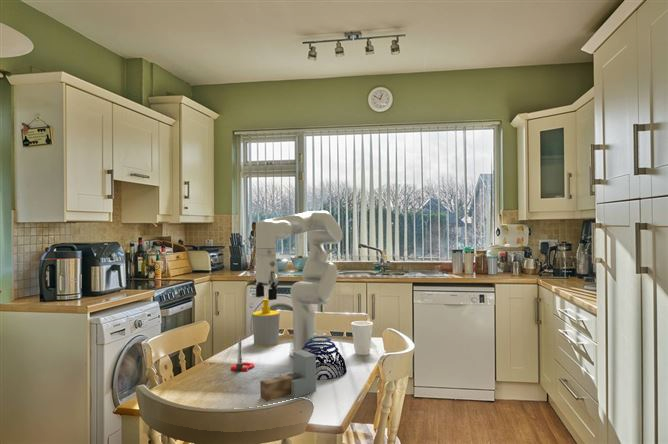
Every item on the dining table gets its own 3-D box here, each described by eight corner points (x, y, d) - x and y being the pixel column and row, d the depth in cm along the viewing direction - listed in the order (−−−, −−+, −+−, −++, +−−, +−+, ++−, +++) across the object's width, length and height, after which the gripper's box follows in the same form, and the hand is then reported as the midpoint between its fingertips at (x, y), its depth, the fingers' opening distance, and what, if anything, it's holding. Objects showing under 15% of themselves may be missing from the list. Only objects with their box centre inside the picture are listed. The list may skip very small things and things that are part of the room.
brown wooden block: (292, 389, 153) (292, 372, 153) (299, 392, 150) (299, 375, 150) (260, 397, 145) (260, 380, 146) (266, 401, 142) (266, 383, 142)
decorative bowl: (341, 362, 183) (341, 327, 184) (351, 378, 164) (350, 338, 164) (292, 365, 180) (292, 329, 180) (296, 382, 160) (295, 341, 161)
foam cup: (353, 349, 202) (352, 320, 202) (373, 350, 200) (373, 321, 201) (350, 355, 192) (350, 325, 193) (372, 356, 191) (371, 325, 191)
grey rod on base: (237, 364, 183) (228, 370, 174) (237, 332, 183) (228, 336, 174) (256, 365, 181) (249, 371, 172) (257, 333, 182) (249, 337, 173)
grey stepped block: (279, 389, 153) (279, 353, 153) (301, 383, 158) (301, 349, 158) (294, 397, 145) (294, 360, 145) (317, 391, 151) (317, 355, 151)
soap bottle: (284, 341, 218) (284, 297, 219) (272, 348, 206) (272, 301, 206) (260, 339, 222) (259, 296, 223) (247, 346, 210) (247, 300, 210)
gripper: (286, 253, 166) (286, 299, 166) (263, 251, 180) (264, 294, 180) (268, 254, 162) (268, 302, 162) (246, 252, 176) (246, 296, 175)
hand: (266, 298), depth 171 cm, fingers open, 9 cm apart
